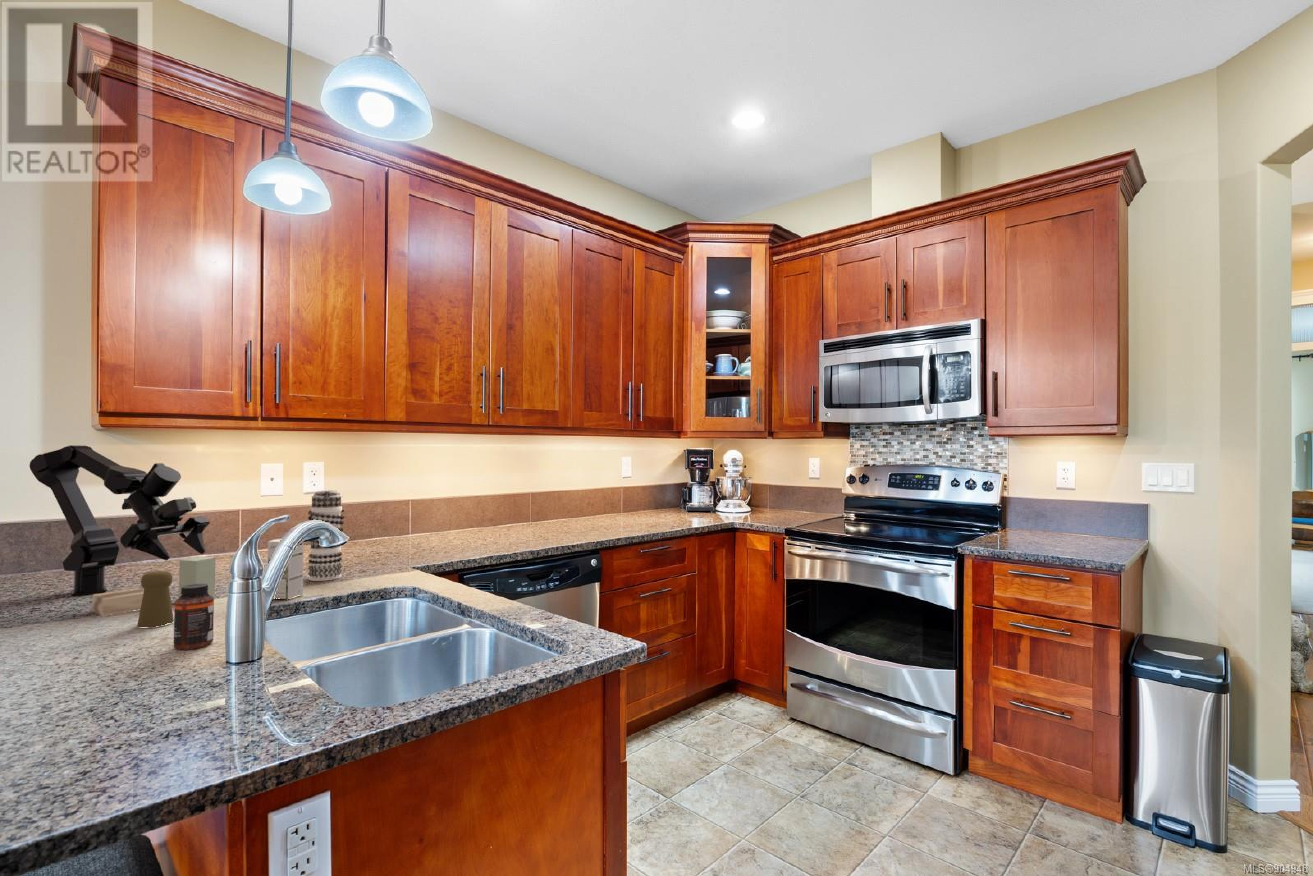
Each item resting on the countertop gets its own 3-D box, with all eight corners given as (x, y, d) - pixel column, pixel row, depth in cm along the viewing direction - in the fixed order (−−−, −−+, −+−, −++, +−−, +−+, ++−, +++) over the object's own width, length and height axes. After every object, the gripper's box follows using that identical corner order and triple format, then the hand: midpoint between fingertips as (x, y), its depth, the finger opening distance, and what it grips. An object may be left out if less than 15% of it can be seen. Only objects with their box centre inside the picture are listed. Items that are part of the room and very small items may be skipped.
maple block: (92, 612, 139) (92, 594, 139) (136, 605, 145) (137, 588, 145) (103, 618, 134) (103, 599, 134) (149, 610, 141) (149, 592, 141)
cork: (180, 622, 130) (181, 570, 130) (146, 630, 125) (148, 575, 125) (164, 619, 133) (165, 568, 133) (130, 626, 127) (132, 572, 127)
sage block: (178, 601, 148) (179, 560, 148) (197, 597, 153) (198, 556, 153) (195, 603, 147) (196, 561, 147) (214, 598, 152) (215, 557, 152)
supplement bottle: (220, 643, 116) (222, 583, 117) (187, 653, 111) (189, 590, 111) (198, 639, 118) (200, 581, 119) (165, 649, 113) (167, 587, 113)
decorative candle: (308, 576, 179) (309, 490, 180) (343, 573, 183) (345, 489, 183) (305, 582, 171) (306, 492, 171) (342, 579, 175) (344, 491, 175)
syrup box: (303, 595, 155) (305, 537, 156) (287, 600, 150) (288, 541, 150) (282, 594, 156) (284, 537, 156) (265, 600, 150) (267, 540, 150)
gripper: (130, 489, 143) (168, 538, 141) (204, 485, 161) (239, 528, 159) (103, 522, 144) (140, 571, 142) (179, 514, 163) (213, 558, 160)
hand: (186, 555), depth 151 cm, fingers open, 9 cm apart
